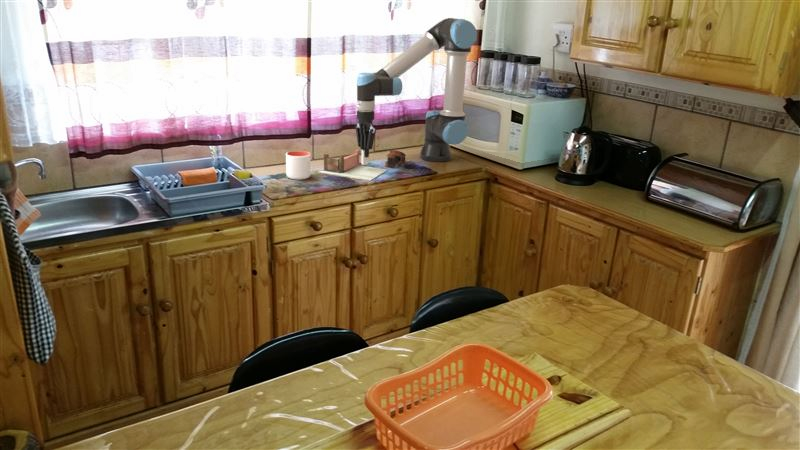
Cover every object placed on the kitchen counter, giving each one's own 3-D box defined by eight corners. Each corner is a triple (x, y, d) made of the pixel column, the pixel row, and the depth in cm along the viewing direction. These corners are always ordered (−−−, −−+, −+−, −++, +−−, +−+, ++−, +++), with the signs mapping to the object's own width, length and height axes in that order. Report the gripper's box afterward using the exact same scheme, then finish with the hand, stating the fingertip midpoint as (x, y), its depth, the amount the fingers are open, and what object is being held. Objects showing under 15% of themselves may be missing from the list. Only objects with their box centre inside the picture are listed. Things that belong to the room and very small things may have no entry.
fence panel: (344, 171, 275) (344, 156, 273) (341, 170, 275) (341, 155, 273) (359, 164, 286) (359, 150, 284) (356, 164, 287) (356, 149, 285)
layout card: (387, 170, 283) (387, 169, 282) (370, 180, 266) (370, 179, 266) (337, 163, 291) (337, 162, 290) (318, 172, 274) (318, 171, 274)
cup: (307, 173, 272) (307, 150, 269) (312, 179, 263) (312, 156, 260) (284, 174, 269) (284, 151, 266) (288, 181, 260) (288, 157, 257)
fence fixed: (344, 173, 275) (344, 156, 272) (342, 174, 273) (342, 157, 271) (325, 170, 278) (325, 153, 275) (323, 171, 276) (323, 154, 274)
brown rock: (379, 166, 292) (384, 149, 293) (395, 173, 297) (400, 156, 298) (394, 165, 282) (399, 147, 283) (410, 172, 287) (415, 155, 288)
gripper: (349, 108, 274) (349, 161, 282) (367, 113, 265) (366, 168, 273) (363, 107, 279) (363, 159, 287) (381, 111, 269) (380, 166, 277)
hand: (364, 164), depth 280 cm, fingers closed
